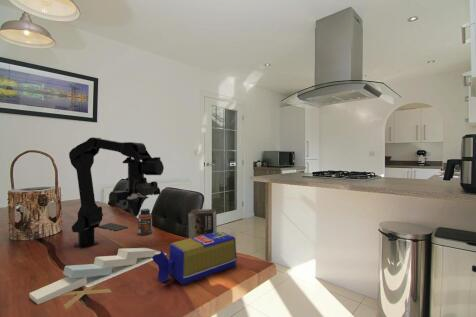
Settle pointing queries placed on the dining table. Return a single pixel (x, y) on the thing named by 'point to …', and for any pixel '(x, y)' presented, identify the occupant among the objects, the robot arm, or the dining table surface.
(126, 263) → the domino
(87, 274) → the domino
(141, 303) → the dining table surface
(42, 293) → the domino
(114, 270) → the row mat
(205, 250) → the bread
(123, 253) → the domino
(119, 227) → the smartphone
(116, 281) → the dining table surface
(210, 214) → the coffee box
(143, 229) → the supplement bottle
